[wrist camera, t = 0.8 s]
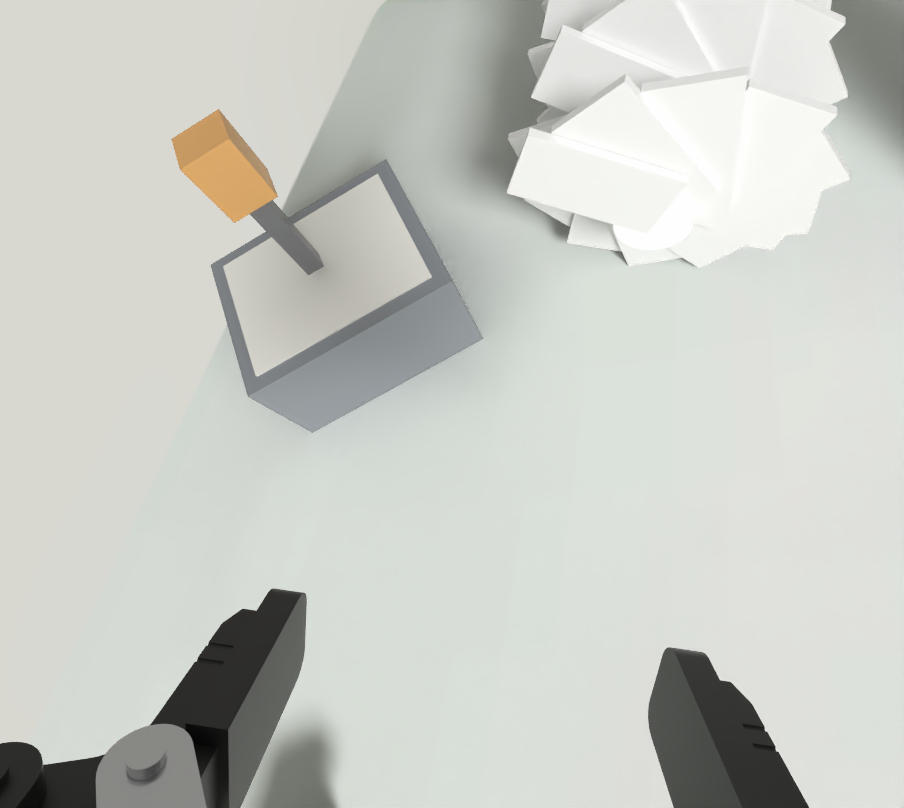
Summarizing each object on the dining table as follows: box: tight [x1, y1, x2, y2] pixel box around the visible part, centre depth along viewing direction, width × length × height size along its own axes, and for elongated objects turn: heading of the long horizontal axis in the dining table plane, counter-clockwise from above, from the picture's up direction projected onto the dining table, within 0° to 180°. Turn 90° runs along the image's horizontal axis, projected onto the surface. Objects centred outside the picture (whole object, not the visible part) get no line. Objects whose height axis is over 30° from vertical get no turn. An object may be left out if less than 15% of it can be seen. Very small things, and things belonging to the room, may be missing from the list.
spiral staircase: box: [507, 0, 850, 268], centre depth 33 cm, size 18×18×25 cm
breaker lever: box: [172, 110, 324, 276], centre depth 31 cm, size 2×3×11 cm
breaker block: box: [211, 160, 483, 433], centre depth 40 cm, size 12×15×8 cm
